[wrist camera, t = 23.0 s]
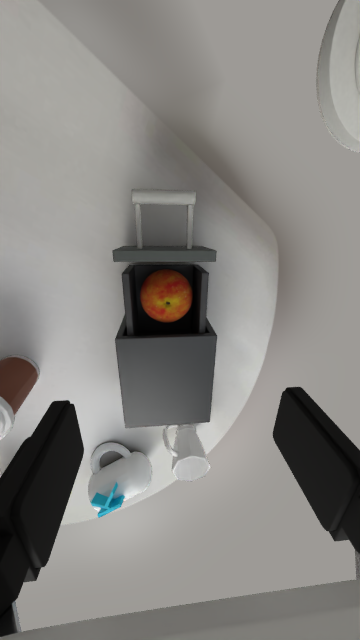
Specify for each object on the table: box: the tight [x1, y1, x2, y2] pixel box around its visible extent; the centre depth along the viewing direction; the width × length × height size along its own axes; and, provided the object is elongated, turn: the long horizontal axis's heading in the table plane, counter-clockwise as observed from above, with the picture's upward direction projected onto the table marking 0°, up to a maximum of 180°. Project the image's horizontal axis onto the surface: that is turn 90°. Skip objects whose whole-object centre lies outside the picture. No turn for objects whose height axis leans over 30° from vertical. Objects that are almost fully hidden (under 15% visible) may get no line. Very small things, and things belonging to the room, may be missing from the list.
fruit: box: [140, 269, 193, 322], centre depth 28 cm, size 7×7×8 cm
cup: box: [163, 424, 210, 481], centre depth 42 cm, size 7×10×8 cm
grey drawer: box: [113, 189, 216, 336], centre depth 29 cm, size 20×11×8 cm, turn 179°
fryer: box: [115, 316, 217, 428], centre depth 34 cm, size 15×13×10 cm
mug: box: [88, 442, 152, 517], centre depth 44 cm, size 12×9×12 cm
